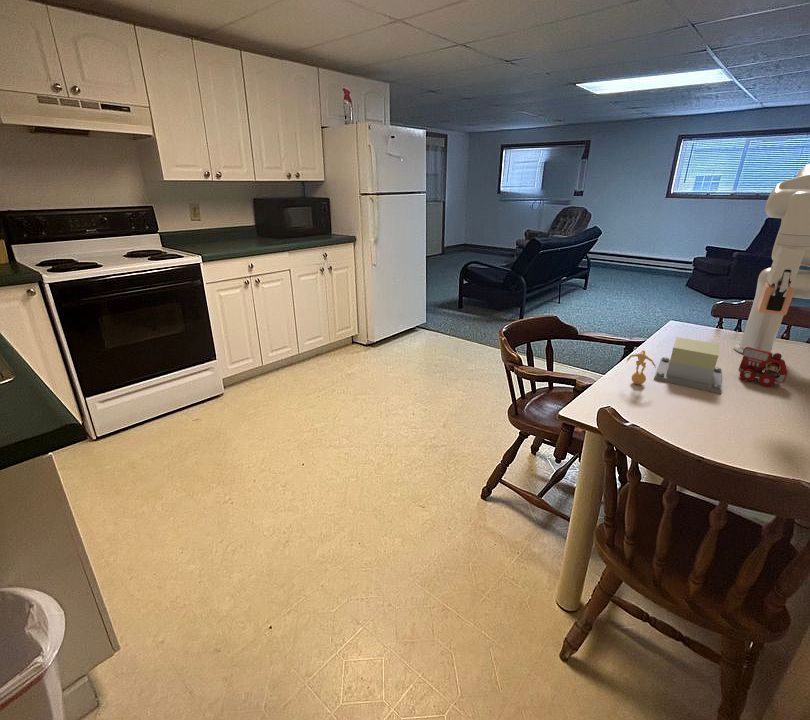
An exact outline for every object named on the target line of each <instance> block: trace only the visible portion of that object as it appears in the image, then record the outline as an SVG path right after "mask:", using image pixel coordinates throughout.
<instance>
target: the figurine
mask: <svg viewBox="0 0 810 720" xmlns="http://www.w3.org/2000/svg"><path fill="white" fill-rule="evenodd" d="M634 357H637V360H636V361H635V365H636V367H635V369H636V372H634V373H633V374H632V376H631V381H632V383H633V384H636V385H638V386H639V385H643V384H644V383H645V382H646V380H647V377H646V375H645V373H644V371H645V368H646V362H645V360H648V361H650V362H651V364H652V365H653V367H654V368H655V369H656V366H657V365H656V364H655V362H654V361H653V359H652V358H650V357H649V356H647V355H646V350H644V349H643V350H642V351H641V352H639V353H636V354H630V355H629V357H627V360H626V362H629V360H630V359H631V358H634ZM640 365H641V367H642V368H641V370H640V371H639V366H640ZM656 370H657V369H656Z"/></svg>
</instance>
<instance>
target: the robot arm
mask: <svg viewBox="0 0 810 720" xmlns="http://www.w3.org/2000/svg"><path fill="white" fill-rule="evenodd" d="M764 208H765V214H766V216H767V217H769V218H771V219H772V218H773V219H781V222H780V227H779V228H778V232H777V235H776V238H775V240H774V241H775V242H774V244H773V248H772V251H771V252H772V253H771V260H772V264H771V266H770V267H768V268H764V269H763V270H761V272H760V273H759V275H758V278H757V282H756V283H757V284H756V289H755V296H754V299H753V302H752V306H751V308H750V309H751V310H750V313H749V316H748V319H747V321H746V325H745V328H744V330H743V335H742V336H741V337H742V338H741V339H740V340H741V341H740V343H735V344H734V346H733V349H734V350H735V351H736V352H738V353H740V354H742V353H743V350H744V349H745V347H751V348H755V349H759V350H764V351H768V352H771V353H772V357H773V355H774V354H775V353H777V352H776V351H775V350H774V349H773V346H774V344H775V341H776V338H777V336H778V332H779V329H780V328H781V324H782V321H783V318H784V316H785V315H779V314H771V313H763V312H758V309H757V305H758V302H759V299H760V296H761V293H762V290H763V287H764V284H765V283H769V284H770V285H772V284H775V286H774V290H773V293H772V295H770V298H769V301H768V304H767V307H766V309H767V310H772V311H781V309H782V306H783V304H784V301H785V298H786V297H785V296H786V293H787V290H788V286H793V288H794V290H795V291H794V294H793V297H792V298H794V299H795V298H796V299H804V300H810V270H809V269H808V270H806V269H800V267H801V266H805V267H809V268H810V163H809V164H806V165H804V166H803V167H802V168H801V169H800V170H799V171H798V172H797V173H796V176H795V177H793V178H790V179H787V180H783V181H781V182H779V183H777V184H776V185H775V186H774V187H773V189H771V191H770V194H769V196H768V198H767V200H766V204H765V207H764ZM777 287H778V288H777ZM779 287H780V288H779Z"/></svg>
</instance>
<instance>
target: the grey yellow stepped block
mask: <svg viewBox="0 0 810 720" xmlns="http://www.w3.org/2000/svg"><path fill="white" fill-rule="evenodd" d="M719 355H720V344H719V343H714V342H708V341H703V340H696V339H691V338H690V339H689V338H685V337H679V336H677V337H675V342H674V344H673V348H672V351H671V355H670V358H669V357H665V356H664V357H662V358H661V359H660V361H659V363H658V366H657V369H656V371H655V374H654V378H653V379H654V380H655V379H656V380H655V381H660V382H664V381H665V382H664V383H669V382H670V383H669V384H673V383H674V384H675V385H677V386H678V385H679V386H684V387H687V386H688V387H687V388H692V387H693V388H692V389H696V388H697V389H696V390H701V389H702V390H701V391H705V390H706V391H705V392H710V391H711V392H710V393H716V394H719V395H720V394H721V391H722V380H723V370H722V368H721V367H718V366H717V367H716V365H717V362H718V359H719Z"/></svg>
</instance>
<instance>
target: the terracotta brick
mask: <svg viewBox="0 0 810 720" xmlns="http://www.w3.org/2000/svg"><path fill="white" fill-rule="evenodd" d="M774 286H775V284H772V285H770V284H769V283H765V284H764V287H763V290H762V293H761V296H760V299H759V302H758V305H757V309H758V312H763V313H771V314H779V315H784V316H787V314H788V311H789V308H790V304H791V303H792V299H793V298H794V297H793V294H794V291H795V290H794V288H793V286H788V290H787V293H786V296H785V297H786V298H785V301H784V304H783V306H782V309H781V311H772V310H767V309H766V307H767V304H768V301H769V298H770V295H772V293H773V290H774ZM777 288H778V287H777ZM779 288H780V287H779Z"/></svg>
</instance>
